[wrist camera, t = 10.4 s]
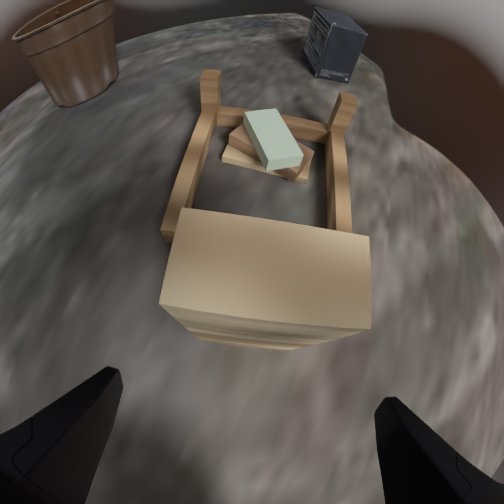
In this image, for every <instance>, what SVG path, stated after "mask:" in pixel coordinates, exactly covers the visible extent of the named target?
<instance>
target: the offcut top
mask: <svg viewBox="0 0 504 504" xmlns="http://www.w3.org/2000/svg"><path fill="white" fill-rule="evenodd" d="M243 124H244V126H245V128H246V130H247V132H248V134H249V136H250V138H251V141H252V143H253V145H254V147H255V149H256V151H257V153H258V156H259V158H260V160H261V162H262V164H263V166H264V169H265V171H272V170H277V169H283V168H289V167H295V166H300V163H301V161H302V158H303V156H304V155H303V153H302V151H301V149H300V148H299V146H298V144H297V142H296V141H295V139H294V137H293V136H292V134H291V132H290V130H289V129H288V127H287V125H286V124H285V122H284V121H283V119H282V117H281V116H280V114H279V112H278V111H277V109H266V110H256V111H248V112H244V120H243Z"/></svg>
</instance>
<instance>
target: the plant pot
mask: <svg viewBox="0 0 504 504" xmlns="http://www.w3.org/2000/svg"><path fill="white" fill-rule="evenodd" d="M114 10H115V9H114V0H68V1H65V2H63V3H61V4H59V5H57V6H55V7H53V8H51V9H49V10H48V11H46V12H44V13H42V14H41V15H39V16H38V17H36V18H34V19H33V20H31V21H30V22H29V23H27V24H26V25H25V26H23V27H22V28H21V29H20V30H19V31H17V32H16V33H15V34H14V36H13V37H12V40H13V41H17V43H18V45H19V47H20V48H21V50H22V52H23V54H24V55H25V56H27V57H28V59H29V60H30V62H31V64H32V66H33V68H34V69H35V71H36V73H37V74H38V76H39V78H40V80H41V81H42V83H43V85H44V86H45V88H46V90H47V91H48V93H49V95H50V96H51V98H52V100H53V101H54V103H55V105H56V106H58V107H61V106H66V107H71V106H75V105H78V104H81V103H83V102H86V101H88V100H90V99H92V98H93V97H95V96H97V95H99V94H100V93H102V92H103V91H104V90H106V89H107V87H108V85H109V84H110V83H111V82H114V81H115V80H116V79H117V77H118V74H119V68H118V62H117V55H116V46H115V38H114V25H113V13H114Z"/></svg>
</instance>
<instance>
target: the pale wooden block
mask: <svg viewBox="0 0 504 504" xmlns="http://www.w3.org/2000/svg"><path fill="white" fill-rule="evenodd" d="M159 304H160V305H161V306H162V307H163V308H164V309H165V310H166V311H167V312H169V313H170V314H171V315H172V316H173V317H174V318H175V319H176V320H177V321H178V322H180V323H181V324H182V325H183V326H184V327H185V328H186V329H187V330H189V331H190V332H191V333H192V334H193V335H194V336H196V337H197V338H198V339H199V340H204V341H210V342H217V343H224V344H231V345H238V346H246V347H254V348H263V349H272V350H282V351H288V350H293V349H297V348H302V347H306V346H310V345H315V344H319V343H323V342H327V341H331V340H335V339H339V338H342V337H346V336H350V335H353V334H357V333H360V332H364V331H367V330H370V329H371V264H370V245H369V236H363V235H358V234H352V233H347V232H341V231H336V230H330V229H324V228H318V227H313V226H307V225H301V224H294V223H288V222H282V221H276V220H269V219H263V218H256V217H249V216H242V215H235V214H228V213H221V212H214V211H206V210H199V209H191V208H183V207H182V208H181V212H180V216H179V219H178V223H177V227H176V231H175V235H174V239H173V243H172V247H171V251H170V255H169V259H168V264H167V268H166V272H165V277H164V281H163V286H162V291H161V296H160V301H159Z"/></svg>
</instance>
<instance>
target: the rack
mask: <svg viewBox="0 0 504 504" xmlns="http://www.w3.org/2000/svg"><path fill="white" fill-rule="evenodd" d="M200 91H201V115H200V117H199V120H198V122H197V124H196V127H195V129H194V132H193V135H192V137H191V140H190V142H189V145H188V148H187V150H186V153H185V156H184V158H183V161H182V164H181V167H180V170H179V172H178V175H177V178H176V181H175V184H174V187H173V190H172V193H171V196H170V199H169V202H168V206H167V209H166V212H165V215H164V219H163V222H162V225H161V229H160V230H161V233H162V235H163V237H164V239H165V242H166V243H173V239H174V235H175V231H176V227H177V223H178V219H179V216H180V212H181V208H182V207H183V208H191V207H192V204H193V200H194V196H195V193H196V189H197V186H198V182H199V179H200V175H201V172H202V169H203V165H204V162H205V159H206V156H207V152H208V149H209V146H210V143H211V140H212V137H213V134H214V131H215V128H216V127H217V126H221V127H230V128H237V127H238V126H240V125H241V124H242V123H243V120H244V112H248V111H256V110H250V109H243V108H235V107H226V106H220V94H221V70H206V69H204V71H203V73H202V75H201V77H200ZM357 106H358V103H357V99H356V96H354V95H351V94H347V93H344V92H340V93H339V96H338V98H337V101H336V104H335V106H334V109H333V111H332V114H331V116H330V119H329V121H328V124H325V123H320V122H316V121H312V120H307V119H302V118H297V117H292V116H287V115H282V114H280V116H281V117H282V119H283V121H284V122H285V124H286V125H287V127H288V129H289V130H290V132H291V134H292V136H293V137H294V138H299V139H303V140H308V141H313V142H318V143H322V144H324V145H325V156H326V180H327V229H330V230H336V231H341V232H347V233H352V220H351V203H350V190H349V178H348V168H347V158H346V150H345V142H344V134H345V132H346V130H347V128H348V126H349V124H350V121H351V119H352V117H353V115H354V113H355V111H356V108H357Z"/></svg>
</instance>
